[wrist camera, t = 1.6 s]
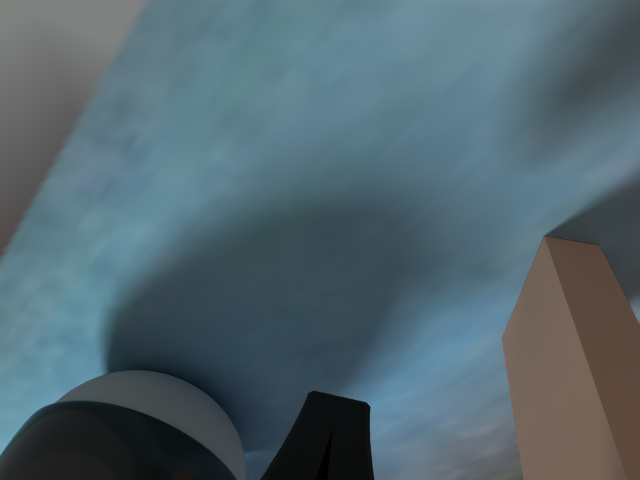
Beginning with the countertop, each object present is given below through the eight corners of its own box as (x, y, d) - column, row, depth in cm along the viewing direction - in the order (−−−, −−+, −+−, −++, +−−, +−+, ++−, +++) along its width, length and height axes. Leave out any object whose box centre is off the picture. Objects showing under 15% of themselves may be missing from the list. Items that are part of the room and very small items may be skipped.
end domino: (599, 245, 14) (771, 584, 7) (548, 348, 17) (634, 678, 9) (544, 236, 15) (653, 556, 7) (501, 338, 17) (550, 655, 10)
